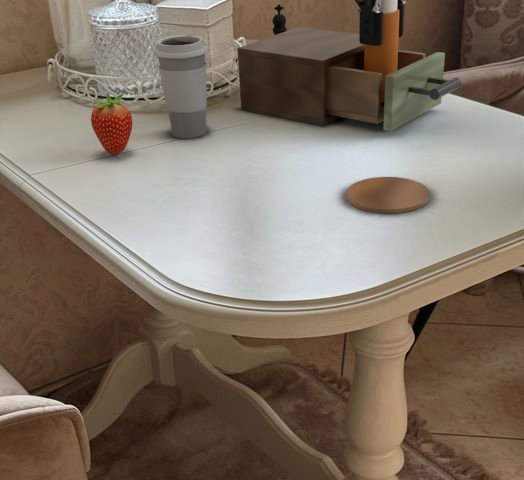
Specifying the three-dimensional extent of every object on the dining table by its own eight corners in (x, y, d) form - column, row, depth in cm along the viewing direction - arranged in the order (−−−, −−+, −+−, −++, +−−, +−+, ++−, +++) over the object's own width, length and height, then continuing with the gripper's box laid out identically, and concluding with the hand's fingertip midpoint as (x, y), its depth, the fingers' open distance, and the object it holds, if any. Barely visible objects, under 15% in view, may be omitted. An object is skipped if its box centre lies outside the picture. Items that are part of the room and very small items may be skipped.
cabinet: (380, 98, 116) (382, 36, 112) (323, 126, 107) (323, 60, 102) (300, 84, 124) (299, 26, 119) (241, 109, 115) (237, 47, 110)
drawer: (471, 108, 108) (476, 56, 104) (422, 137, 99) (426, 82, 95) (359, 89, 117) (360, 41, 113) (306, 114, 109) (305, 63, 105)
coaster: (426, 180, 90) (426, 176, 90) (432, 213, 82) (432, 209, 82) (346, 181, 91) (346, 176, 91) (345, 213, 83) (346, 209, 83)
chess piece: (268, 64, 135) (266, 2, 129) (294, 64, 134) (293, 1, 129) (266, 72, 131) (264, 7, 126) (293, 71, 131) (291, 6, 125)
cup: (223, 127, 109) (216, 35, 102) (201, 143, 104) (192, 48, 97) (178, 122, 111) (168, 33, 105) (154, 138, 106) (142, 45, 100)
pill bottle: (395, 93, 110) (399, -9, 102) (397, 102, 106) (400, -2, 99) (363, 94, 110) (365, -7, 103) (363, 103, 106) (365, -1, 99)
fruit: (88, 155, 102) (77, 93, 97) (120, 144, 105) (111, 83, 100) (114, 164, 99) (104, 100, 94) (146, 152, 102) (138, 89, 97)
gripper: (374, -115, 86) (371, 58, 96) (447, -128, 97) (438, 29, 107) (318, -115, 90) (321, 51, 101) (394, -127, 101) (390, 25, 111)
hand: (381, 38), depth 104 cm, fingers closed on pill bottle, 4 cm apart
